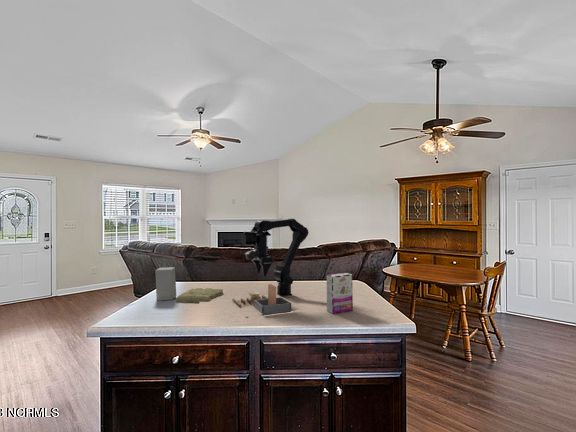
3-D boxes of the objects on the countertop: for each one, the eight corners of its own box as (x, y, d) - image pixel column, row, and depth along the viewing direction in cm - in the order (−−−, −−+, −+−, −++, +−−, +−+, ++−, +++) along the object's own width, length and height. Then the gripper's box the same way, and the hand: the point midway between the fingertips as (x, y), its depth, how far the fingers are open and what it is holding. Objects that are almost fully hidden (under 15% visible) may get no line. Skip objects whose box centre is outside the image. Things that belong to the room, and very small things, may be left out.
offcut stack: (257, 300, 160) (257, 291, 160) (260, 302, 155) (260, 294, 155) (249, 301, 158) (249, 292, 158) (252, 303, 153) (252, 294, 153)
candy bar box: (346, 308, 149) (346, 272, 149) (353, 310, 145) (353, 274, 145) (325, 311, 144) (326, 274, 144) (332, 314, 140) (332, 276, 140)
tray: (280, 305, 154) (280, 297, 154) (291, 311, 143) (291, 303, 143) (253, 308, 148) (253, 300, 148) (262, 315, 137) (262, 306, 137)
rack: (263, 299, 164) (263, 294, 164) (272, 305, 154) (272, 299, 154) (232, 302, 158) (232, 297, 158) (239, 309, 147) (239, 303, 147)
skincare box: (176, 297, 168) (176, 266, 168) (172, 300, 161) (172, 269, 161) (160, 297, 168) (160, 266, 168) (154, 300, 161) (154, 269, 161)
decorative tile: (175, 303, 159) (175, 295, 159) (191, 293, 179) (191, 286, 179) (211, 304, 157) (211, 296, 157) (224, 294, 177) (224, 287, 177)
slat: (270, 306, 148) (271, 284, 149) (276, 309, 143) (276, 286, 143) (268, 306, 148) (268, 284, 148) (273, 309, 142) (273, 287, 143)
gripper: (241, 243, 172) (241, 273, 172) (252, 246, 155) (252, 279, 155) (260, 243, 177) (260, 271, 177) (273, 245, 160) (273, 277, 160)
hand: (261, 274), depth 167 cm, fingers open, 9 cm apart
